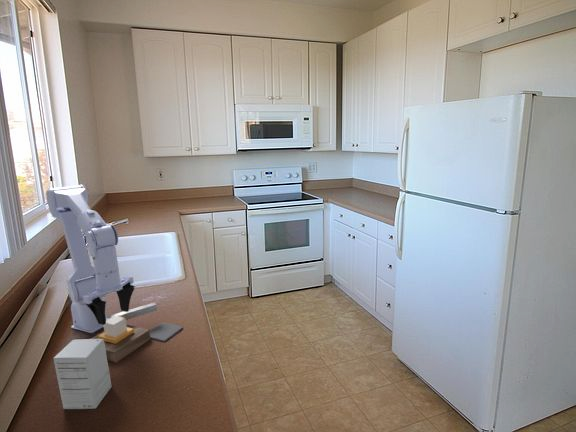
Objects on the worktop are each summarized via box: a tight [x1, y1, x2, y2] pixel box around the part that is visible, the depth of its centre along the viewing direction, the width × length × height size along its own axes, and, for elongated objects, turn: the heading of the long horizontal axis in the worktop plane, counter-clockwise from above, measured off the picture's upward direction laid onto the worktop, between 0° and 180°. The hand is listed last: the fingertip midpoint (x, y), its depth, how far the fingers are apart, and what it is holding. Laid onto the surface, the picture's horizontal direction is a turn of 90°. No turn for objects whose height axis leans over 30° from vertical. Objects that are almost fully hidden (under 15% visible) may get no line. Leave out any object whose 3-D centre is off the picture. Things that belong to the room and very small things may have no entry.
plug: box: [98, 316, 134, 344], centre depth 102 cm, size 6×6×8 cm
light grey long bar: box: [108, 302, 158, 321], centre depth 110 cm, size 13×2×3 cm, turn 127°
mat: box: [149, 322, 184, 343], centre depth 109 cm, size 8×8×1 cm
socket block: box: [90, 323, 151, 363], centre depth 102 cm, size 12×12×3 cm
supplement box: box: [53, 338, 112, 410], centre depth 81 cm, size 7×7×13 cm
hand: (113, 317), depth 101 cm, fingers open, 7 cm apart
